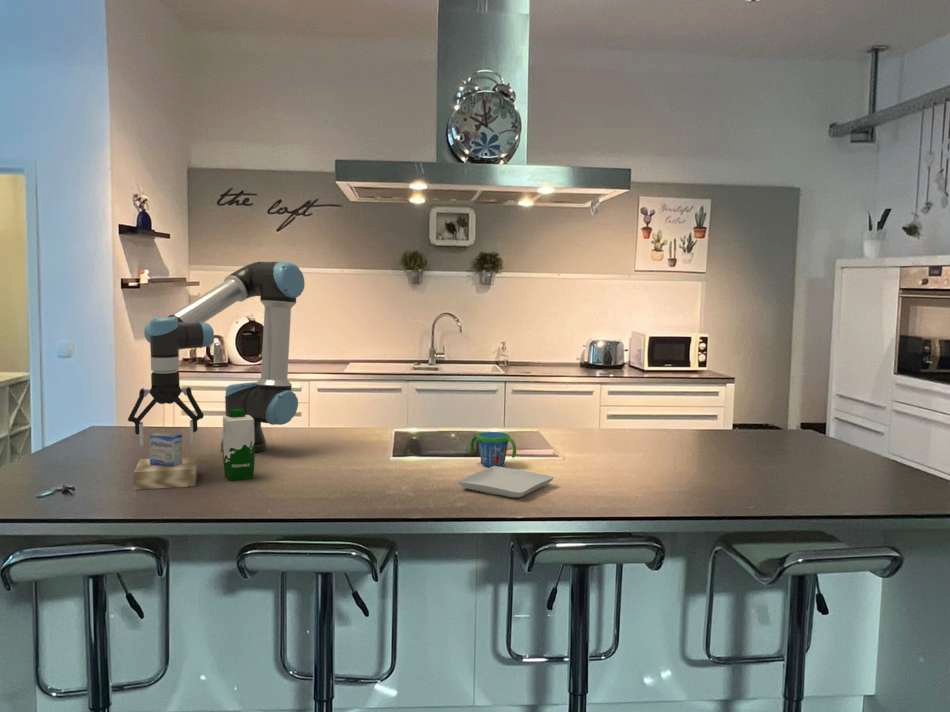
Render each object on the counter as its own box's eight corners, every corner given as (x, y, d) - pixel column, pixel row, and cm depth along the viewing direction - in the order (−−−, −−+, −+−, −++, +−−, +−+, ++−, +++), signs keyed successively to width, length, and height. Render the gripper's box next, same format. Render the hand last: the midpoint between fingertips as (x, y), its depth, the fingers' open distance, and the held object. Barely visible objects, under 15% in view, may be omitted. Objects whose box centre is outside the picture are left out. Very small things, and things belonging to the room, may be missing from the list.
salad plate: (520, 503, 212) (521, 491, 212) (455, 491, 223) (455, 479, 223) (555, 487, 230) (555, 475, 230) (493, 476, 241) (493, 465, 241)
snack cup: (463, 465, 253) (464, 434, 252) (480, 459, 262) (480, 429, 261) (505, 472, 245) (506, 440, 244) (521, 465, 254) (522, 434, 253)
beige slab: (197, 472, 237) (197, 456, 236) (195, 486, 222) (195, 468, 221) (140, 475, 232) (140, 459, 231) (134, 489, 217) (133, 472, 216)
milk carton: (250, 472, 239) (250, 407, 237) (257, 479, 231) (256, 412, 229) (221, 474, 235) (220, 409, 233) (226, 482, 227) (225, 414, 225)
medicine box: (149, 464, 225) (148, 435, 224) (158, 461, 229) (157, 432, 228) (174, 466, 223) (173, 436, 222) (182, 463, 227) (182, 433, 227)
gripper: (211, 368, 231) (212, 439, 233) (119, 370, 223) (121, 443, 226) (210, 372, 224) (212, 444, 226) (115, 374, 216) (118, 449, 219)
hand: (167, 444), depth 226 cm, fingers open, 13 cm apart
